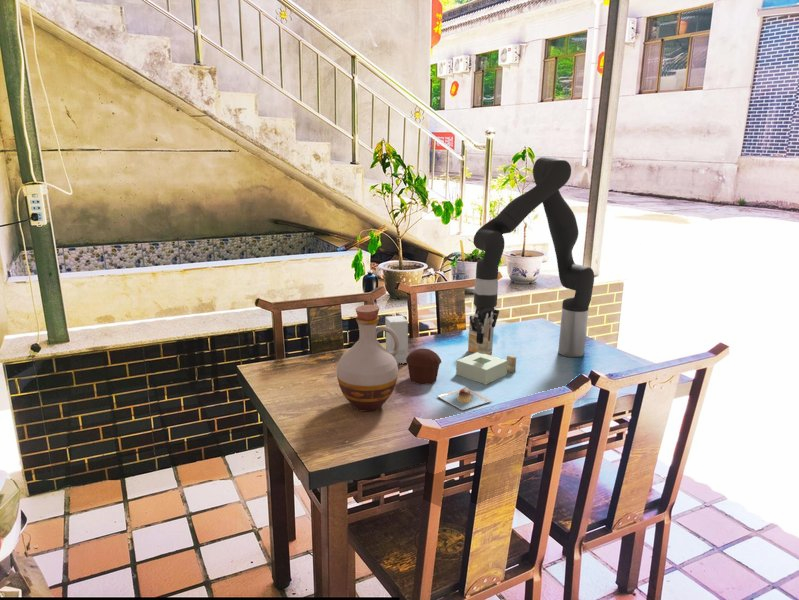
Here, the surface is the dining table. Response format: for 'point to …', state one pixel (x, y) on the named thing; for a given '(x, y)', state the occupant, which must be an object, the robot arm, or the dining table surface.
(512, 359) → the short dowel
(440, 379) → the dining table surface
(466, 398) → the dessert
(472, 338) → the supplement box
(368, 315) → the jug
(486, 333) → the long dowel
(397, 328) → the skincare box
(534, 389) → the dining table surface
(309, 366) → the dining table surface
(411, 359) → the muffin
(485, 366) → the hole block
